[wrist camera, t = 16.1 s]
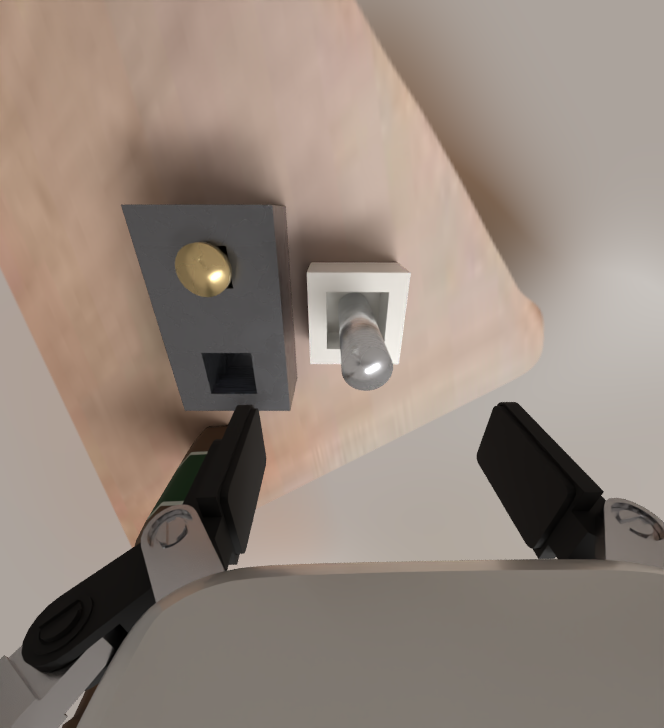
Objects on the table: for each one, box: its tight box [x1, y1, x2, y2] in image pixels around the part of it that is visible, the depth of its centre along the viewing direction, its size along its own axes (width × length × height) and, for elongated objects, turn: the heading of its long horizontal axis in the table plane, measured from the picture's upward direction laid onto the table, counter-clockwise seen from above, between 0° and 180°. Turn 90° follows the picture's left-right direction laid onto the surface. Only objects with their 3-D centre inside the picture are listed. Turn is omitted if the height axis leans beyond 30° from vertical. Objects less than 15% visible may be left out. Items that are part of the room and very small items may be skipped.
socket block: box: [121, 205, 297, 411], centre depth 25 cm, size 17×10×6 cm, turn 0°
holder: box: [307, 262, 411, 364], centre depth 26 cm, size 8×8×5 cm
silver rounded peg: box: [338, 292, 393, 391], centre depth 22 cm, size 3×3×12 cm
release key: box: [175, 242, 232, 297], centre depth 22 cm, size 4×4×6 cm
